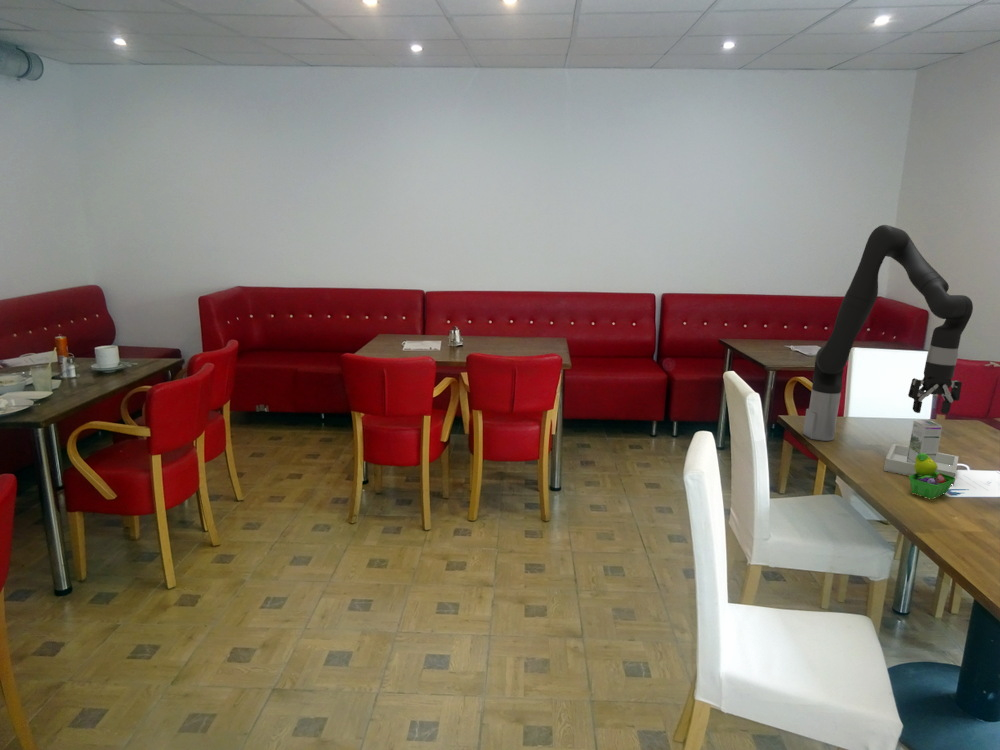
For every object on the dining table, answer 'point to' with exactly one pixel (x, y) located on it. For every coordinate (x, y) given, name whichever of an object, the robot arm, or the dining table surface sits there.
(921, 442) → the syrup box
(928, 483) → the fruit basket
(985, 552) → the dining table surface
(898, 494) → the dining table surface
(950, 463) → the tray
